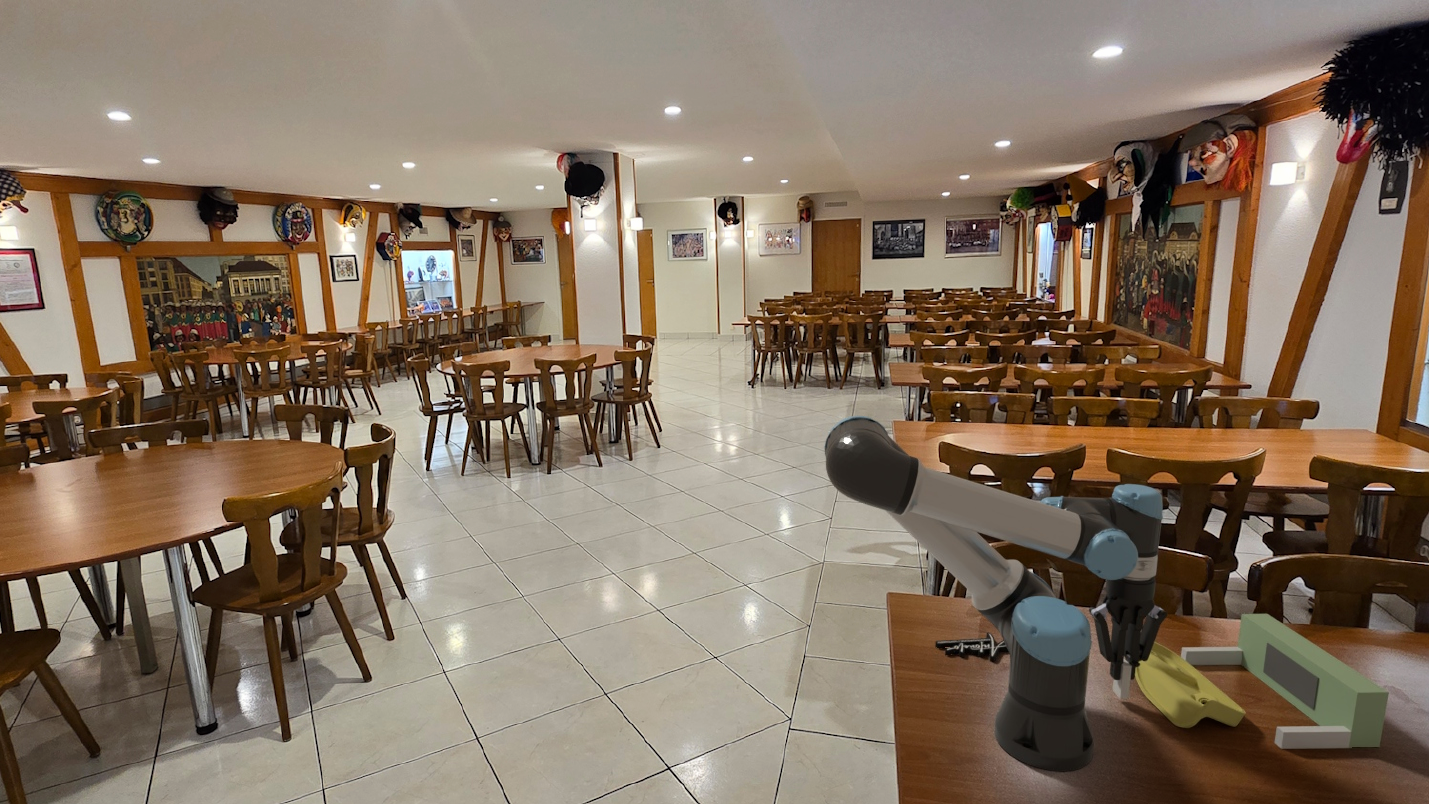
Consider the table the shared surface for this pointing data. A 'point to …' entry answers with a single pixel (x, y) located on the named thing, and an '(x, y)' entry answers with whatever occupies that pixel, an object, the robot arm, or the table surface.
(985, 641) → the nameplate
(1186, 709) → the plastic component
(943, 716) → the table surface
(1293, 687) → the green sign stand
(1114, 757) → the table surface
